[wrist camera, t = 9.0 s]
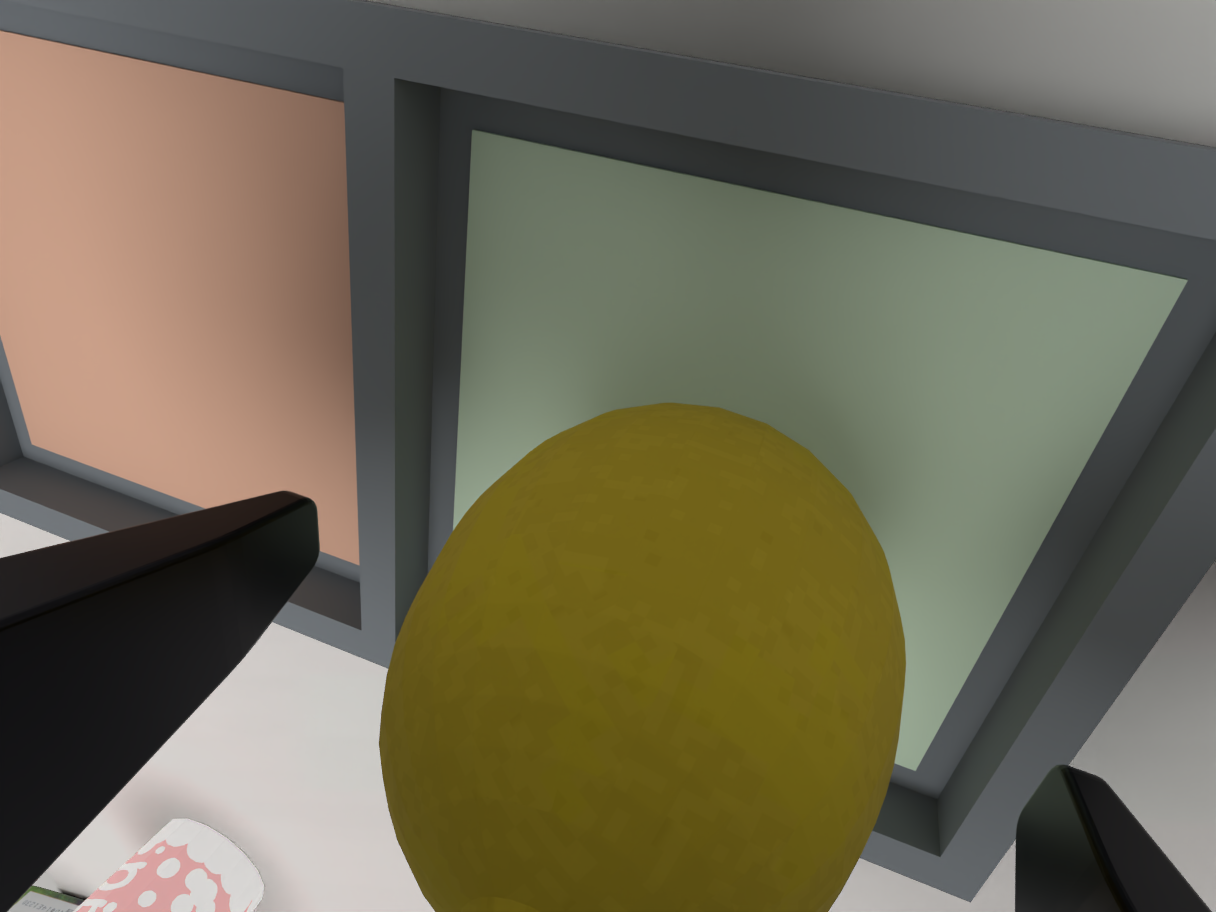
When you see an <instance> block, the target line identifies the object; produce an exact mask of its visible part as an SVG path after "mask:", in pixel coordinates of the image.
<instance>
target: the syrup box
mask: <svg viewBox="0 0 1216 912" xmlns="http://www.w3.org/2000/svg"><path fill="white" fill-rule="evenodd" d="M84 901H85V900H82V899H79V898H75V897H72V896H69V895H66V894H62V893H58V892H55V891H51V890H48V889H44V888H41V887H37V886H31V887H30V888H29V889H28V890H27V891H26V892H25V893H24V895H23V896H22V897H21V898H20V899H19V900H18V901H17V902H16V903H15V904H14V905H13V906H12V907H11V908H10V909H9V911H8V912H73V911H74V910H75V909H76V908H77V907H78V906H80V905H81V904H82V903H83V902H84Z"/></svg>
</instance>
